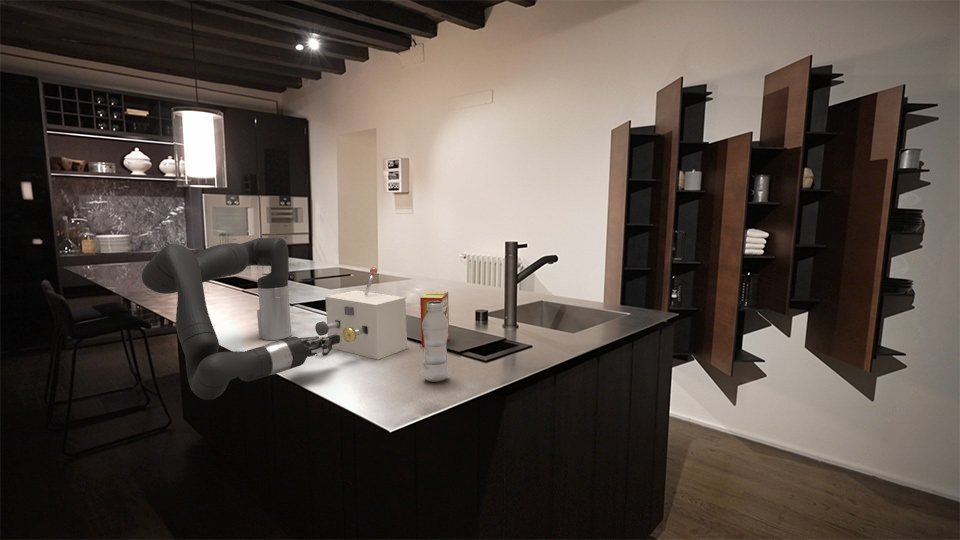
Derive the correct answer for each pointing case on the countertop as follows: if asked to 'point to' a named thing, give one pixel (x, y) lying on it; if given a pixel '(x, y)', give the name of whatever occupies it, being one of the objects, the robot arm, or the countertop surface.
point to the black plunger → (325, 327)
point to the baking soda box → (434, 297)
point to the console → (369, 322)
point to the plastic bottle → (435, 343)
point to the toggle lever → (370, 279)
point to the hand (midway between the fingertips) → (338, 338)
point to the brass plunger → (352, 333)
